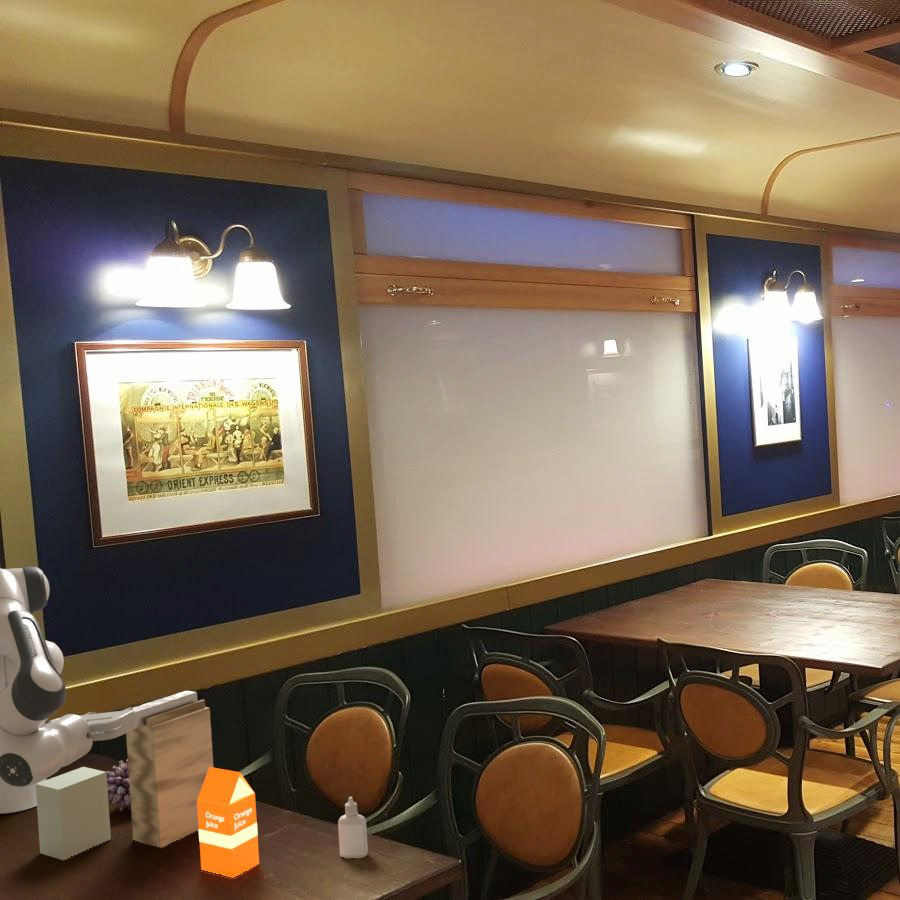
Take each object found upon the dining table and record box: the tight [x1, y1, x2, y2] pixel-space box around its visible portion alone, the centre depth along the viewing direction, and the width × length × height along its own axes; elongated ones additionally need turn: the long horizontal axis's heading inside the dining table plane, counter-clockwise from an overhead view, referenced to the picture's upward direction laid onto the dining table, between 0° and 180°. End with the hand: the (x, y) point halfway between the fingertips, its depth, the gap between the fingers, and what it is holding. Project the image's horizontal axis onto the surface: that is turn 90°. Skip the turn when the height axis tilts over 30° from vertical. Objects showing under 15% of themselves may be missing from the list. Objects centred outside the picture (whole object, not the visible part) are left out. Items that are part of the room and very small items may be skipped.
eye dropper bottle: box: [337, 796, 369, 859], centre depth 213 cm, size 4×6×12 cm
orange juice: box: [197, 766, 260, 879], centre depth 210 cm, size 8×9×20 cm
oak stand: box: [125, 699, 214, 849], centre depth 231 cm, size 9×16×28 cm, turn 146°
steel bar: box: [132, 690, 198, 729], centre depth 227 cm, size 4×24×4 cm, turn 146°
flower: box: [106, 758, 131, 812], centre depth 246 cm, size 12×12×12 cm
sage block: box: [36, 766, 112, 861], centre depth 226 cm, size 8×12×15 cm, turn 146°
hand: (112, 713), depth 219 cm, fingers open, 8 cm apart
